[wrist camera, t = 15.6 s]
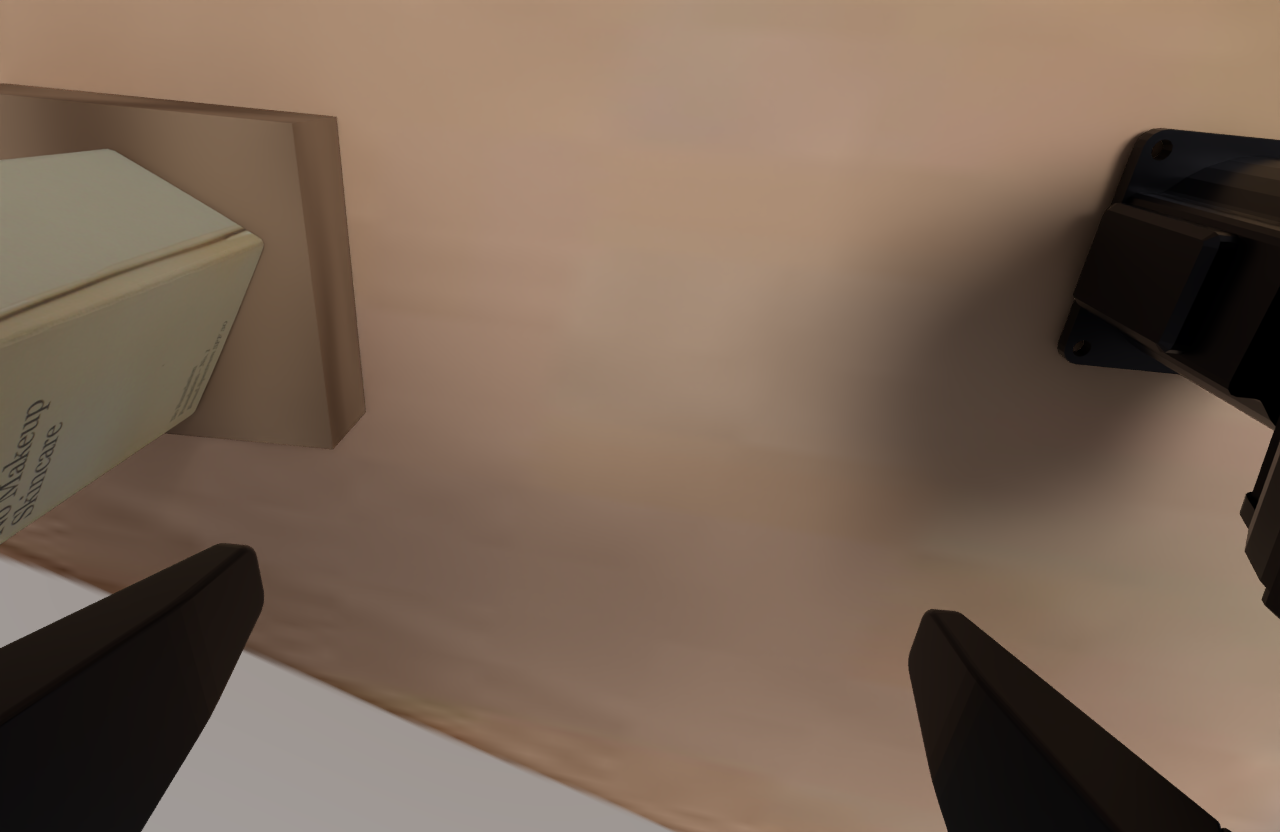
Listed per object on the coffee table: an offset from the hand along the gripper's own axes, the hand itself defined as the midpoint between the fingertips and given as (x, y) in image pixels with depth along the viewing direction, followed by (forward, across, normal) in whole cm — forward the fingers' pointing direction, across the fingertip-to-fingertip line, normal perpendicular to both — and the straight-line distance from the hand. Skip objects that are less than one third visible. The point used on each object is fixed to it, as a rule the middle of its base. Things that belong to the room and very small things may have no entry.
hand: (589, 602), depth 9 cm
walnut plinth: (+13, +13, 0) cm, 18 cm away
